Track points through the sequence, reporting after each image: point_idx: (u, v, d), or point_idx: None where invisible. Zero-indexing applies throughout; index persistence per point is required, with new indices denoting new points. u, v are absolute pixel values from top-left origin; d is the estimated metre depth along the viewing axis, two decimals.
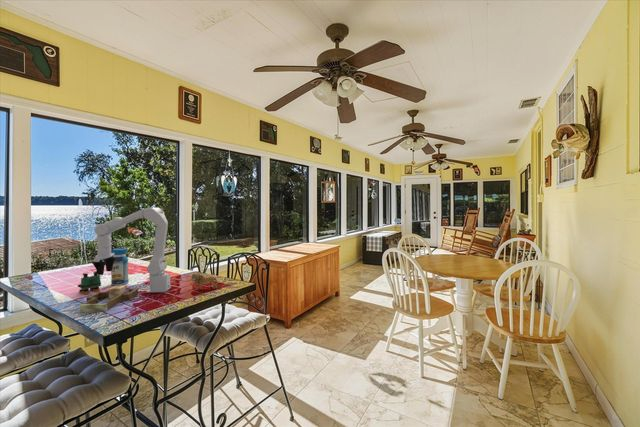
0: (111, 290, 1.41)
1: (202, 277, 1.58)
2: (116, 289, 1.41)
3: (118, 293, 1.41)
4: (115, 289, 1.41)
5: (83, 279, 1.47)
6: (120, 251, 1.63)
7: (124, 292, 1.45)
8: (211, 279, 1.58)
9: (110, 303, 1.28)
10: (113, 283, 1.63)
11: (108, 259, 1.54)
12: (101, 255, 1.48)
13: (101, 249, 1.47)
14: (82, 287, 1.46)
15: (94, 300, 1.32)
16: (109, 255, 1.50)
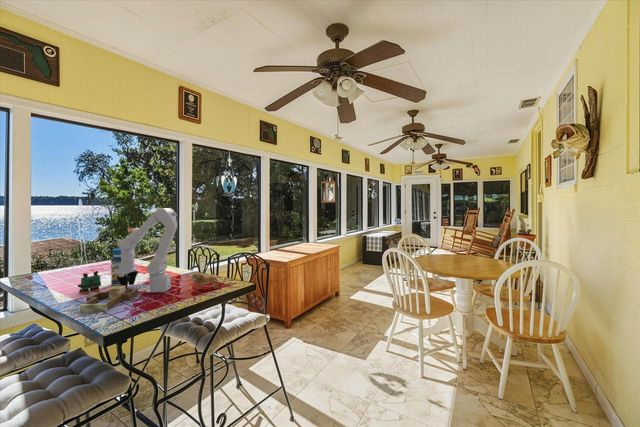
0: (111, 290, 1.41)
1: (203, 277, 1.58)
2: (116, 289, 1.41)
3: (118, 293, 1.41)
4: (115, 289, 1.41)
5: (83, 279, 1.47)
6: (120, 251, 1.63)
7: (124, 292, 1.45)
8: (212, 279, 1.58)
9: (110, 303, 1.28)
10: (113, 283, 1.63)
11: (131, 273, 1.57)
12: (125, 270, 1.51)
13: (125, 264, 1.51)
14: (82, 287, 1.46)
15: (94, 300, 1.32)
16: (132, 269, 1.53)
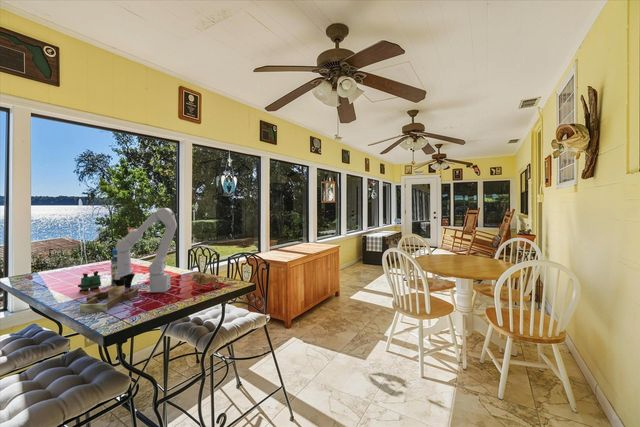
0: (110, 290, 1.40)
1: (203, 277, 1.58)
2: (115, 289, 1.41)
3: (117, 293, 1.41)
4: (114, 289, 1.41)
5: (83, 279, 1.47)
6: None
7: (123, 292, 1.45)
8: (212, 279, 1.58)
9: (110, 303, 1.28)
10: (113, 283, 1.63)
11: (127, 276, 1.53)
12: (121, 272, 1.47)
13: (121, 266, 1.47)
14: (82, 287, 1.46)
15: (94, 300, 1.32)
16: (129, 272, 1.49)
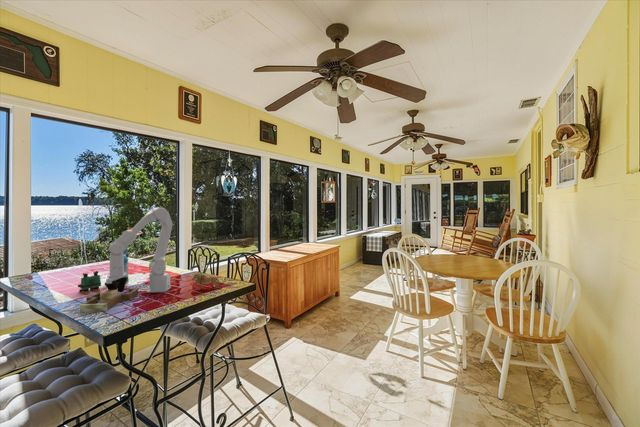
0: (102, 295, 1.33)
1: (204, 277, 1.58)
2: (107, 294, 1.34)
3: (110, 298, 1.34)
4: (106, 294, 1.34)
5: (83, 279, 1.47)
6: None
7: None
8: (213, 279, 1.58)
9: (110, 303, 1.28)
10: None
11: (120, 279, 1.46)
12: (113, 276, 1.40)
13: (113, 269, 1.40)
14: (82, 287, 1.46)
15: (94, 300, 1.32)
16: (122, 275, 1.42)
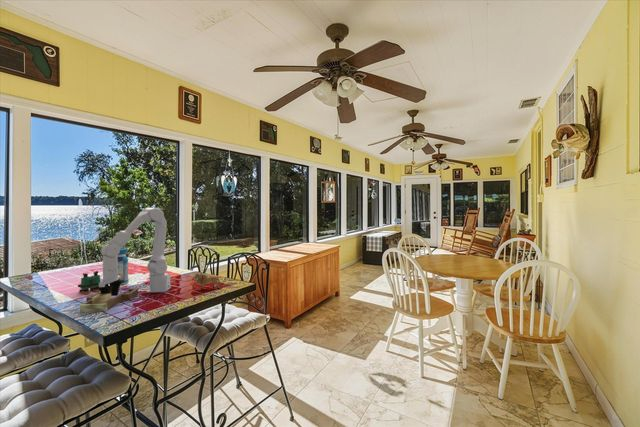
0: (95, 299, 1.28)
1: (205, 277, 1.58)
2: (100, 298, 1.28)
3: (103, 302, 1.28)
4: (99, 298, 1.28)
5: (83, 279, 1.47)
6: (120, 251, 1.63)
7: None
8: (214, 279, 1.58)
9: (110, 303, 1.28)
10: None
11: (114, 282, 1.41)
12: (107, 279, 1.34)
13: (106, 272, 1.34)
14: (82, 287, 1.46)
15: None
16: (115, 278, 1.37)
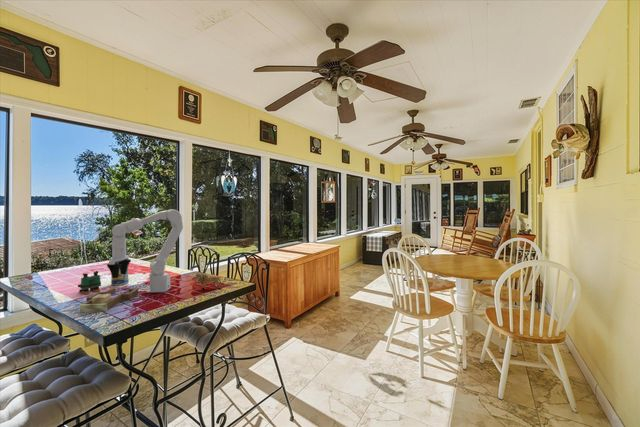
0: (95, 299, 1.27)
1: (206, 277, 1.58)
2: (100, 298, 1.28)
3: (102, 302, 1.28)
4: (99, 298, 1.28)
5: (83, 279, 1.47)
6: None
7: None
8: (215, 279, 1.59)
9: (110, 303, 1.28)
10: (113, 283, 1.63)
11: (122, 261, 1.49)
12: (116, 257, 1.42)
13: (116, 251, 1.42)
14: (82, 287, 1.46)
15: None
16: (124, 257, 1.44)
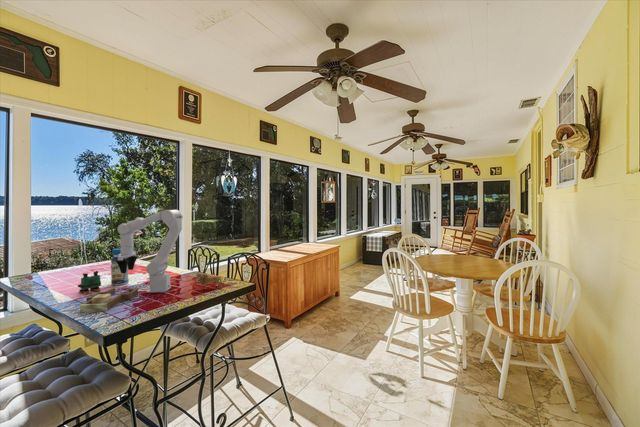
0: (95, 299, 1.27)
1: (207, 277, 1.59)
2: (100, 298, 1.28)
3: (102, 302, 1.28)
4: (99, 298, 1.28)
5: (83, 279, 1.47)
6: (120, 251, 1.63)
7: None
8: (216, 279, 1.59)
9: (110, 303, 1.28)
10: (113, 283, 1.63)
11: (130, 258, 1.58)
12: (124, 254, 1.52)
13: (124, 248, 1.52)
14: (82, 287, 1.46)
15: None
16: (131, 254, 1.54)
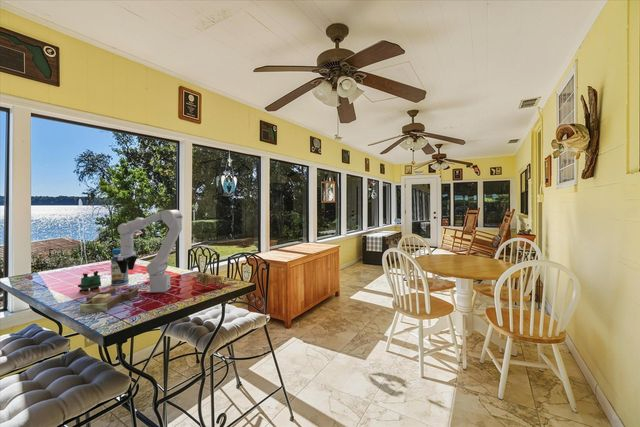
0: (95, 299, 1.27)
1: (207, 277, 1.59)
2: (100, 298, 1.28)
3: (102, 302, 1.28)
4: (99, 298, 1.28)
5: (83, 279, 1.47)
6: (120, 251, 1.63)
7: None
8: (216, 279, 1.59)
9: (110, 303, 1.28)
10: (113, 283, 1.63)
11: (130, 258, 1.58)
12: (124, 254, 1.52)
13: (124, 248, 1.52)
14: (82, 287, 1.46)
15: None
16: (131, 254, 1.54)
